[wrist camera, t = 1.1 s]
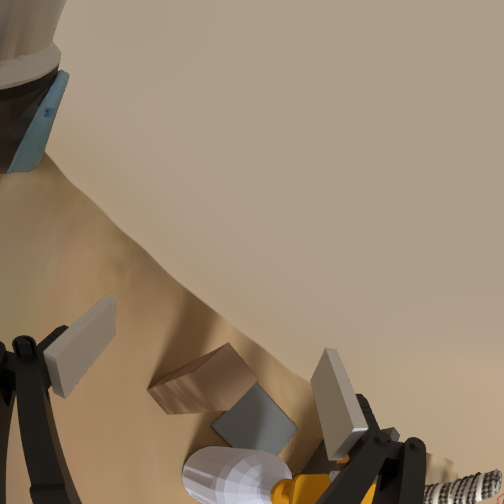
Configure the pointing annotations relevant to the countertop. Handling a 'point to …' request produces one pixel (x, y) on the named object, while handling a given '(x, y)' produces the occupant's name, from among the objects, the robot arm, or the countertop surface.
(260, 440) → the pad
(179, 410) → the gate
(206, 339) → the countertop surface
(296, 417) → the countertop surface
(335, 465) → the breaker panel
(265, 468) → the soap bottle
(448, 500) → the decorative candle
